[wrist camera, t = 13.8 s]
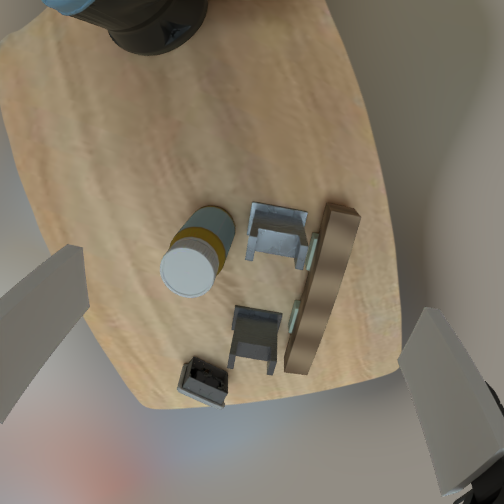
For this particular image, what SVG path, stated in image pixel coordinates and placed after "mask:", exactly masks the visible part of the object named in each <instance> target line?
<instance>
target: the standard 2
mask: <svg viewBox="0 0 504 504" xmlns="http://www.w3.org/2000/svg"><path fill="white" fill-rule="evenodd" d="M306 217H307V212H306V211H301V210H296V209H291V208H286V207H280V206H275V205H269V204H264V203H258V202H252V208H251V214H250V220H249V226H248V232H247V235H249V240H248V246H247V252H246V258H245V260H249V261H253V258H254V252H255V251H259V252H264V253H270V254H275V255H281V256H286V257H292V258H294V262H295V269H299V270H303V267H304V263H305V259H306V255H307V251H308V247H309V246H308V242H307V238H306V233H305V229H304V226H305V222H306Z"/></svg>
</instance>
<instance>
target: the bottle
mask: <svg viewBox="0 0 504 504" xmlns="http://www.w3.org/2000/svg"><path fill="white" fill-rule="evenodd" d="M234 235H235V224H234V221H233V219H232V217H231V216H230V215H229V213H227V212H226V211H225V210H223V209H222V208H219V207H216V206H206V207H203V208H200V209H199V210H197V211H196V212H195V213H194V214H193V215H192V216H191V217H190V219H189V220H188V221H187V222H186V223H185V225H184V226H183V227H182V228H181V229H180V231H179V232H178V233H177V234H176V235H175V237H174V238H173V240H172V241H171V244H170V248H169V250H168V251H167V252H166V254H165V255H164V256H163V258H162V261H161V264H160V274H161V277H162V280H163V282H164V283H165V285H166V286H167V287H168V288H169V289H170V290H171V291H172V292H174V293H175V294H177V295H180V296H182V297H187V298H194V297H199V296H201V295H203V294H205V293H206V292H207V291H209V289H210V288H211V287H212V285H213V283H214V280H215V278H216V276H217V275H218V274H219V272H220V271H221V270H222V268H223V266H224V263H225V260H226V257H227V255H228V252H229V249H230V246H231V244H232V241H233V238H234Z"/></svg>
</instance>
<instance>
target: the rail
mask: <svg viewBox="0 0 504 504" xmlns="http://www.w3.org/2000/svg"><path fill="white" fill-rule="evenodd" d="M360 219H361V216H360V215H359V214H358V213H357V211H356V210H355V209H354V208H350V207H345V206H341V205H336V204H332V203H326V207H325V212H324V216H323V220H322V224H321V228H320V232H319V236H318V240H317V244H316V248H315V251H314V255H313V259H312V263H311V266H310V270H309V274H308V277H307V281H306V285H305V288H304V292H303V295H302V299H301V302H300V306H299V309H298V313H297V316H296V320H295V323H294V326H293V330H292V333H291V336H290V339H289V343H288V346H287V349H286V352H285V355H284V372H286V373H294V374H302V375H308V372H309V370H310V367H311V365H312V362H313V360H314V357H315V355H316V352H317V349H318V347H319V344H320V342H321V339H322V336H323V334H324V331H325V328H326V325H327V323H328V320H329V317H330V314H331V311H332V309H333V306H334V303H335V300H336V297H337V294H338V291H339V288H340V285H341V282H342V279H343V276H344V273H345V270H346V267H347V263H348V260H349V257H350V254H351V250H352V247H353V244H354V240H355V237H356V233H357V230H358V226H359V223H360Z"/></svg>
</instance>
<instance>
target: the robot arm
mask: <svg viewBox="0 0 504 504" xmlns="http://www.w3.org/2000/svg"><path fill="white" fill-rule="evenodd" d="M42 2H43V3H44V4H45V5H47V6H48V7H51V8H53V9H55V10H57V11H58V12H59V13H61V14H62V15H66V16H71V17H74V18H77V19H80V20H83V21H86V22H89V23H91V24H94V25H97V26H100V27H102V28H105V29H107V30H108V33H109V35H110V37H111V38H112V40H113V41H114V42H115V43H116V44H117V45H118V46H119V47H121V48H122V49H124V50H126V51H129V52H131V53H134V54H138V55H144V56H151V55H158V54H162V53H166V52H168V51H171V50H173V49H175V48H177V47H179V46H180V45H182V44H183V43H185V42H186V41H187V40H188V39H190V38H191V37H192V36H193V35H194V33H195V32H196V31H197V30H198V29H199V27H200V26H201V24H202V22H203V20H204V18H205V15H206V12H207V6H208V0H42ZM89 307H90V305H89V299H88V291H87V284H86V276H85V267H84V256H83V247H78V246H74V245H69V244H67V245H66V246H64V247H63V248H62V249H60V250H59V251H58V252H56V253H55V254H54V255H52V256H51V257H50V258H48V259H47V260H46V261H45V262H43V263H42V264H41V265H40V266H38V267H37V268H36V269H35V270H33V271H32V272H31V273H30V274H28V275H27V276H26V277H25V278H23V279H22V280H21V281H20V282H19V283H17V284H16V285H15V286H14V287H13V288H12V289H11V290H10V291H8V292H7V293H6V294H5V295H3V296H2V297H1V298H0V423H1V424H3V422H4V420H5V419H6V417H7V416H8V414H9V413H10V411H11V410H12V408H13V407H14V406H15V404H16V403H17V401H18V400H19V398H20V397H21V395H22V394H23V393H24V391H25V390H26V388H27V387H28V386H29V384H30V383H31V381H32V380H33V379H34V377H35V376H36V374H37V373H38V372H39V370H40V369H41V368H42V366H43V365H44V364H45V362H46V361H47V360H48V358H49V357H50V356H51V354H52V353H53V352H54V351H55V349H56V348H57V347H58V345H59V344H60V343H61V342H62V340H63V339H64V338H65V337H66V335H67V334H68V333H69V332H70V330H71V329H72V328H73V327H74V325H75V324H76V323H77V322H78V320H79V319H80V318H81V317H82V316H83V314H84V313H85V312H86V311H87V310H88V308H89ZM398 363H399V366H400V368H401V371H402V373H403V376H404V379H405V381H406V384H407V387H408V389H409V392H410V395H411V398H412V401H413V403H414V406H415V409H416V412H417V415H418V418H419V421H420V424H421V427H422V430H423V433H424V436H425V440H426V443H427V446H428V449H429V452H430V456H431V459H432V463H433V467H434V470H435V474H436V478H437V481H438V485H439V488H440V493H441V497H442V496H446V495H449V494H453V493H457V492H459V491H461V490H462V489H464V488H465V487H466V486H467V485H469V484H470V483H471V484H472V488H473V489H471V490H470V491H469V492H467V493H466V494H464V495H463V496H462V497H460V498H459V499H457V500H456V501H455V502H454V503H453V504H459V503H460V502H462V501H463V500H464V502H463V504H504V408H503V406H502V404H500V400H499V398H498V396H497V395H496V393H495V391H494V390H493V389H492V388H491V387H490V386H489V384H488V383H487V382H486V381H484V379H483V377H482V376H481V374H480V372H479V371H478V369H477V367H476V365H475V364H474V362H473V360H472V359H471V357H470V355H469V354H468V352H467V350H466V349H465V348H464V346H463V344H462V342H461V341H460V339H459V338H458V336H457V335H456V333H455V331H454V330H453V329H452V327H451V326H450V324H449V322H448V321H447V319H446V318H445V317H444V315H443V313H442V312H441V311H440V309H436V308H428V307H425V308H424V309H423V312H422V314H421V316H420V318H419V320H418V322H417V324H416V326H415V328H414V330H413V332H412V334H411V336H410V338H409V340H408V342H407V343H406V345H405V347H404V349H403V351H402V353H401V354H400V356H399V358H398Z"/></svg>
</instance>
